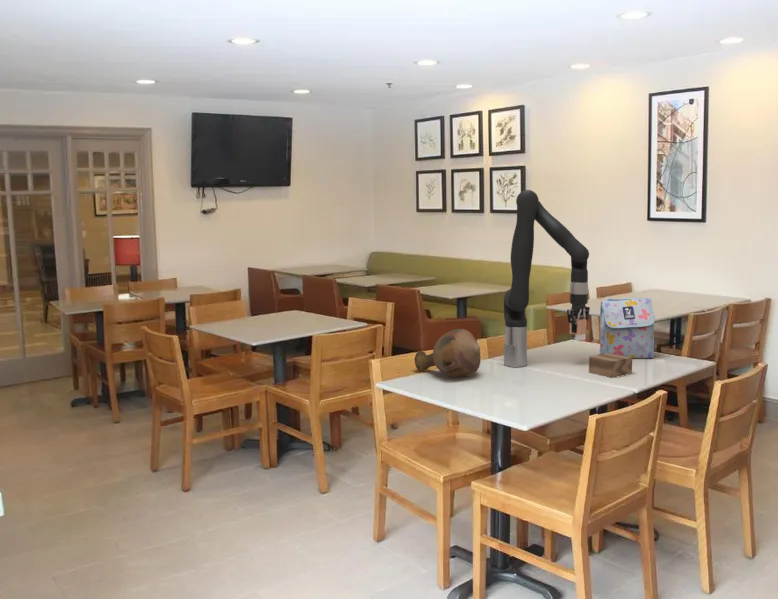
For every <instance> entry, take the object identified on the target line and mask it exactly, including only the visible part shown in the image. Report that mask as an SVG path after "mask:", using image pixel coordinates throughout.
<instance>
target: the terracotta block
mask: <svg viewBox="0 0 778 599" xmlns="http://www.w3.org/2000/svg"><path fill="white" fill-rule="evenodd" d="M574 320H575V319H574ZM571 328H572V324H571V323H569V334H570V335H571V334H572V335H578V336H579V335H580V336H581V335H585V334H587V320H586V319H582V318H581V319H578V321H577V333H572V331H571Z"/></svg>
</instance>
